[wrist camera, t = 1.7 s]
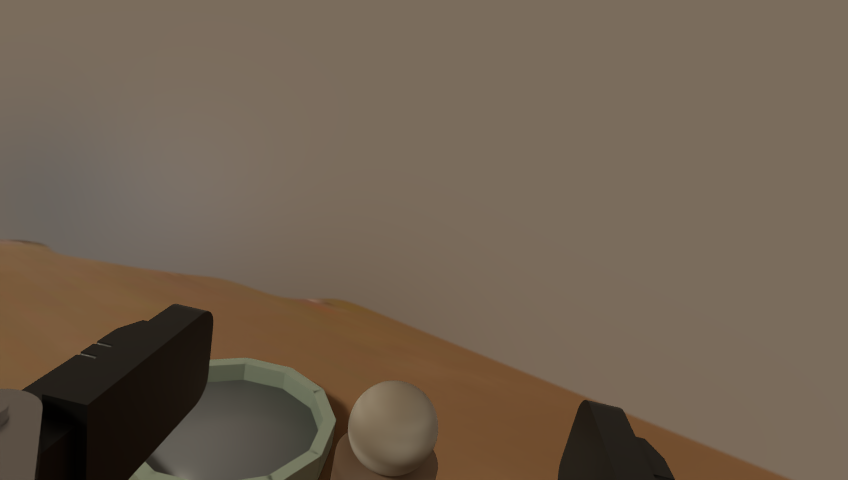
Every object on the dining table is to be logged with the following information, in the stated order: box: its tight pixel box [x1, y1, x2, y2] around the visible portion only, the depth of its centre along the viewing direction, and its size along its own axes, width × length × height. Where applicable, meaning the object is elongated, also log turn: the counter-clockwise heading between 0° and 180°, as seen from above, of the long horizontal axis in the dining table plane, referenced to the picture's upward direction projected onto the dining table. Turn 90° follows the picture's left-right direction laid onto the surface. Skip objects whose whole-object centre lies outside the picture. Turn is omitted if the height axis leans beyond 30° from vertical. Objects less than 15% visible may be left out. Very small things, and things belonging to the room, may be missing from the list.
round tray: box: [129, 358, 336, 480], centre depth 41 cm, size 16×16×2 cm
